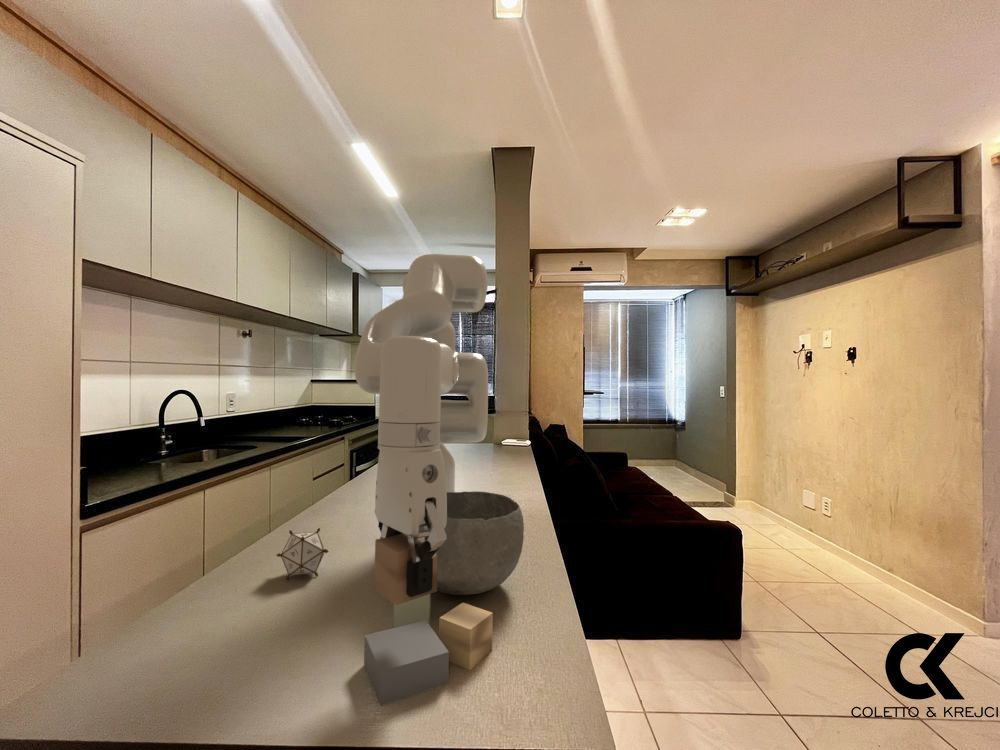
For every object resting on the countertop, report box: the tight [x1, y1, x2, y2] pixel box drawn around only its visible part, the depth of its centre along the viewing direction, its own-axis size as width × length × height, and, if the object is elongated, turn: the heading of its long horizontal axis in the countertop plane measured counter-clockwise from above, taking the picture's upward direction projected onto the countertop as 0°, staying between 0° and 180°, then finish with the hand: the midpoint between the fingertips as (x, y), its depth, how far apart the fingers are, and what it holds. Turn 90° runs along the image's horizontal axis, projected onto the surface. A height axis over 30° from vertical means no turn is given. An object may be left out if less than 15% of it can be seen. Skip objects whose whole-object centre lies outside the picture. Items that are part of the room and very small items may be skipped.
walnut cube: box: [373, 534, 438, 605], centre depth 55 cm, size 6×6×6 cm
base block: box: [363, 620, 450, 707], centre depth 54 cm, size 8×8×4 cm
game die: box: [275, 527, 329, 581], centre depth 82 cm, size 9×8×10 cm
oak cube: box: [438, 602, 494, 670], centre depth 59 cm, size 5×5×5 cm
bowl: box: [419, 490, 525, 596], centre depth 78 cm, size 20×20×15 cm
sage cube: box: [393, 593, 432, 628], centre depth 68 cm, size 5×5×5 cm
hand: (405, 582), depth 55 cm, fingers closed on walnut cube, 5 cm apart
